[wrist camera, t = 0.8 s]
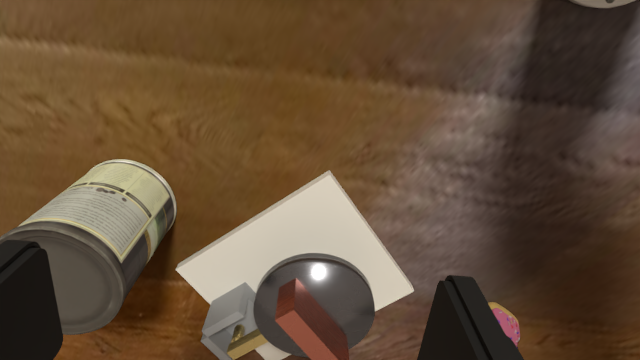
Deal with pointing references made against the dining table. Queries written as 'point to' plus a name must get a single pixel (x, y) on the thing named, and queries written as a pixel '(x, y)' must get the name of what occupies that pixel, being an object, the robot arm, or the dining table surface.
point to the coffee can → (100, 239)
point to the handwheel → (309, 309)
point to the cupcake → (506, 322)
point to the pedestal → (278, 244)
